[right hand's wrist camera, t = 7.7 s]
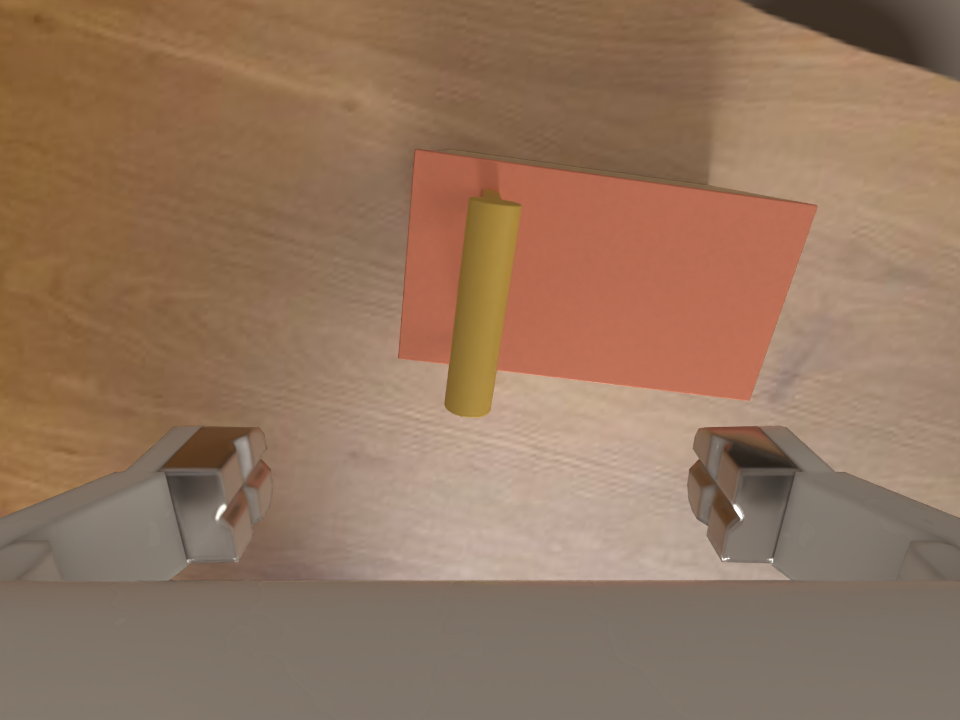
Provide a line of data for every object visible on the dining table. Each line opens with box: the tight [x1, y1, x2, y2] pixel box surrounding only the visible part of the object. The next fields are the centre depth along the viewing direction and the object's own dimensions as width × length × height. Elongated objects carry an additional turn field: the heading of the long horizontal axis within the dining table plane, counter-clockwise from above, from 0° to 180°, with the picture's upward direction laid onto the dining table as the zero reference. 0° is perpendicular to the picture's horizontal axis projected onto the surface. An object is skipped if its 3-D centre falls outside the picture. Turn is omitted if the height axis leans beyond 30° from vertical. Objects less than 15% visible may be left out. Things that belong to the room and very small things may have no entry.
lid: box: [398, 149, 818, 418], centre depth 22 cm, size 18×10×8 cm, turn 83°
